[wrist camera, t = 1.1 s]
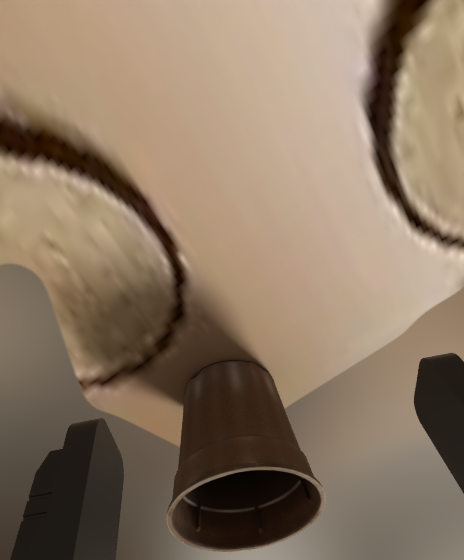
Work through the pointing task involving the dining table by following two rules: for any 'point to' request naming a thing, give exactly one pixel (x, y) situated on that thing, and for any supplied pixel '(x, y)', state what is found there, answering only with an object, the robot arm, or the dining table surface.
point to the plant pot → (239, 464)
